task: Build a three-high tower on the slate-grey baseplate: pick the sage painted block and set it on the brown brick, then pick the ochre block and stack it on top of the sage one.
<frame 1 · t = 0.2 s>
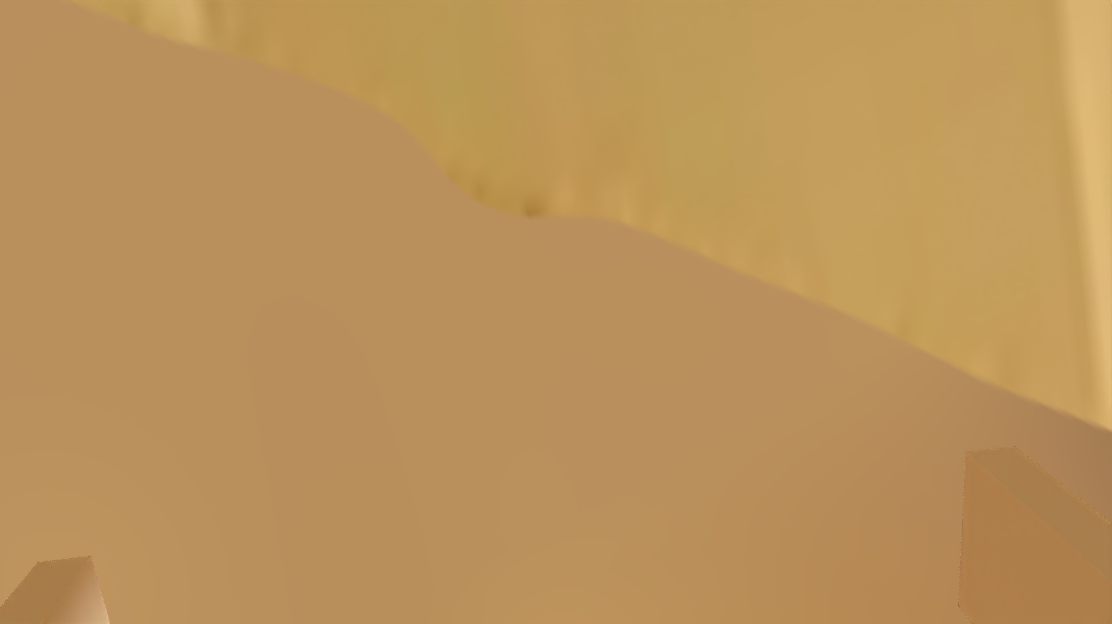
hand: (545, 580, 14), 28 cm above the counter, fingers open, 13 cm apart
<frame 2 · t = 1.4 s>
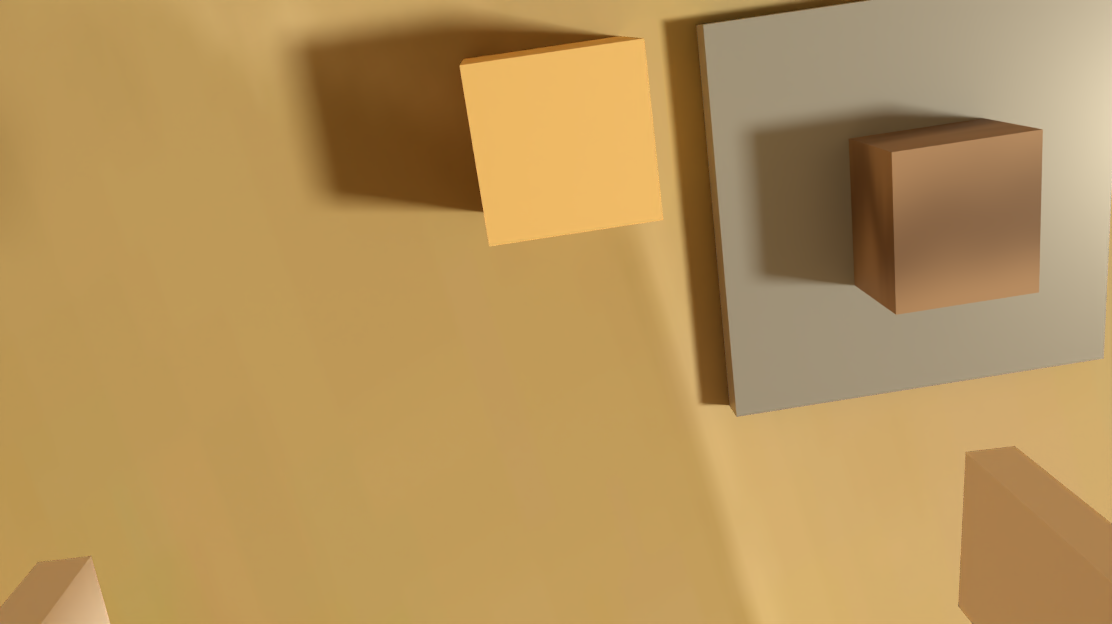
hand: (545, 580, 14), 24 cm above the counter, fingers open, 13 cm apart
baseplate: (904, 198, 38), on the counter
brown brick: (917, 203, 37), resting on baseplate
ochre brick: (552, 126, 36), on the counter
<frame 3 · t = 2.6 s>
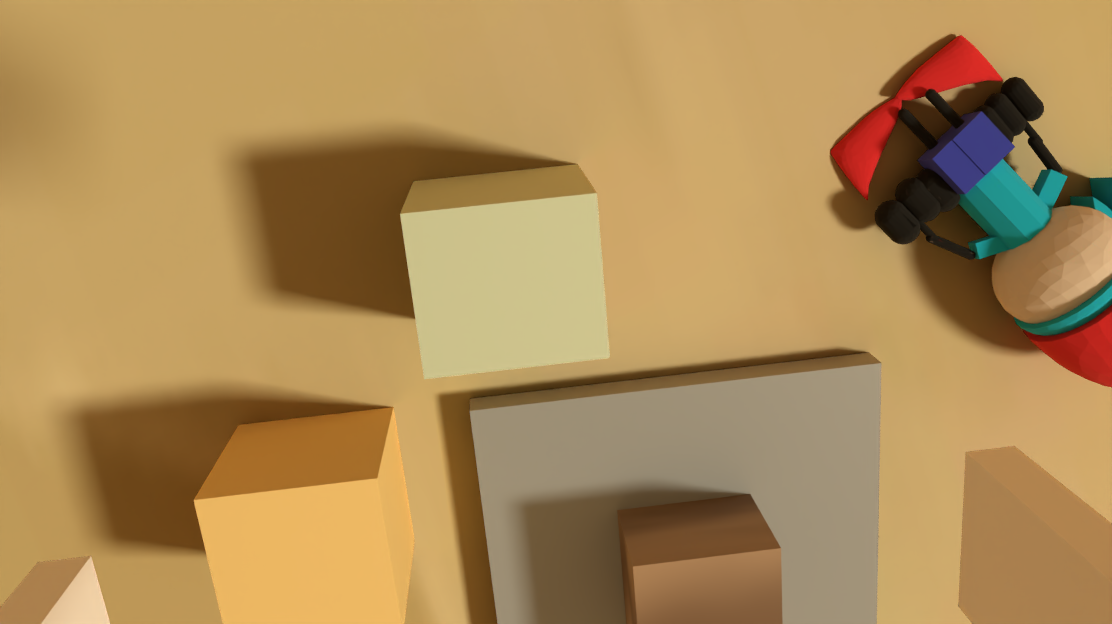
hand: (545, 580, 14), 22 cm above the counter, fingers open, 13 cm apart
baseplate: (681, 550, 39), on the counter
toy figure: (1002, 223, 36), on the counter
brown brick: (687, 566, 38), resting on baseplate
ochre brick: (329, 483, 37), on the counter
sage brick: (503, 243, 35), on the counter
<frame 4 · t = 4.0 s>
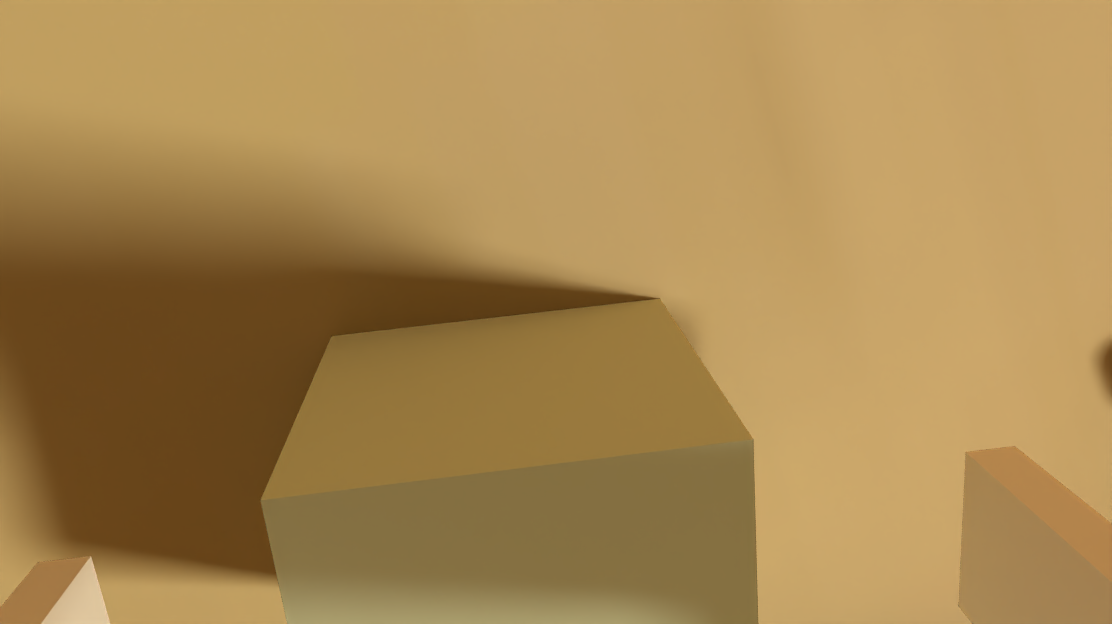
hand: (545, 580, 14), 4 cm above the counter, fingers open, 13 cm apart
sage brick: (512, 448, 18), on the counter
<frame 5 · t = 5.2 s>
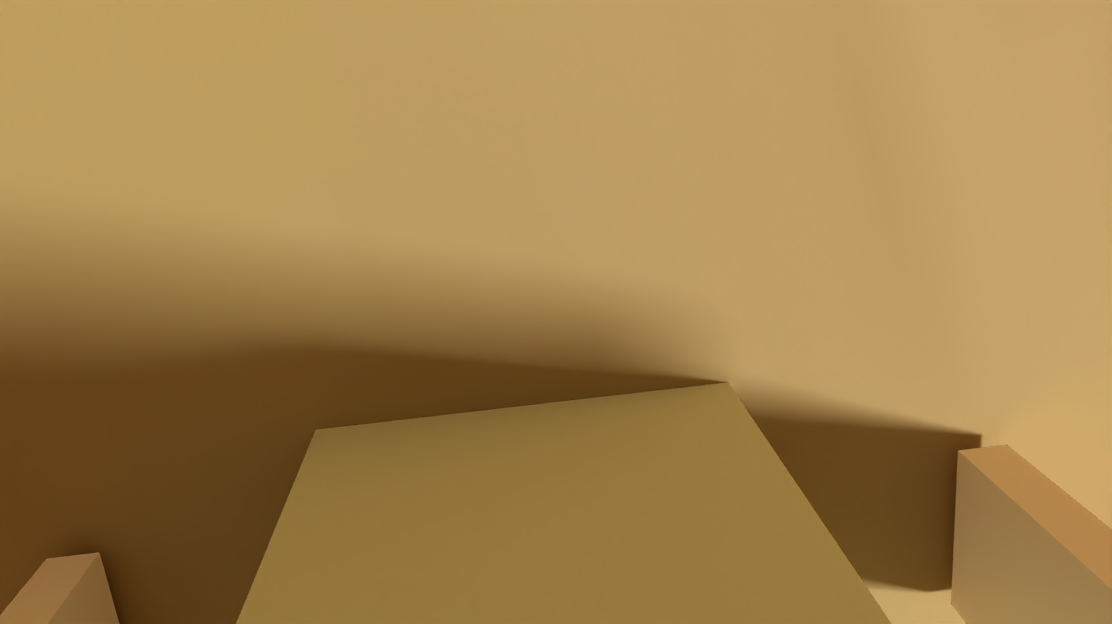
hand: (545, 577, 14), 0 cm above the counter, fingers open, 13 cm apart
sage brick: (541, 564, 14), on the counter
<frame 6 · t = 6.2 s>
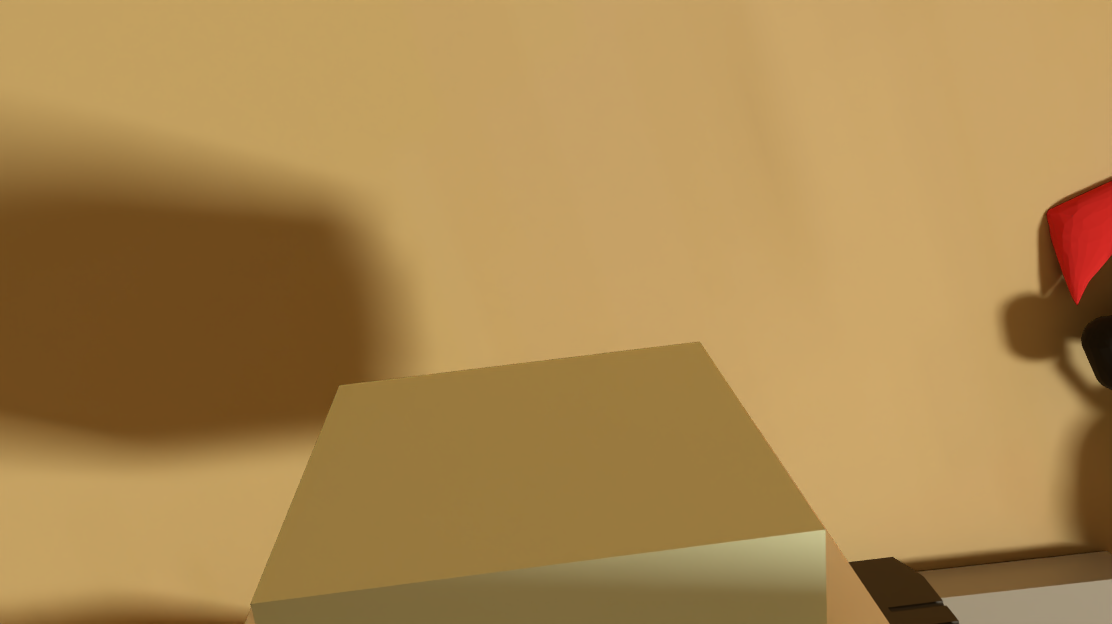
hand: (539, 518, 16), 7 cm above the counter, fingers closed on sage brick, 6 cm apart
sage brick: (538, 507, 16), point 6 cm above the counter, touching gripper
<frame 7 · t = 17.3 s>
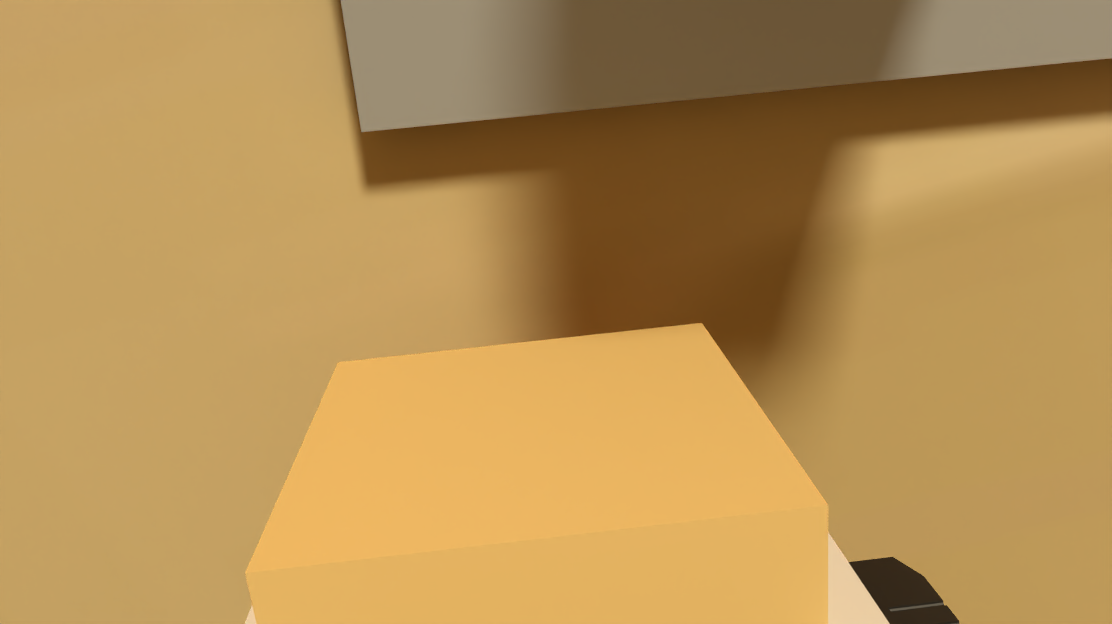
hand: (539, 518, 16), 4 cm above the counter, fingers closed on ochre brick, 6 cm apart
ochre brick: (538, 503, 16), point 4 cm above the counter, touching gripper
when the fingers open (11 cm above the counter, at t = 21.9 s): ochre brick stays where it is, resting on sage brick.
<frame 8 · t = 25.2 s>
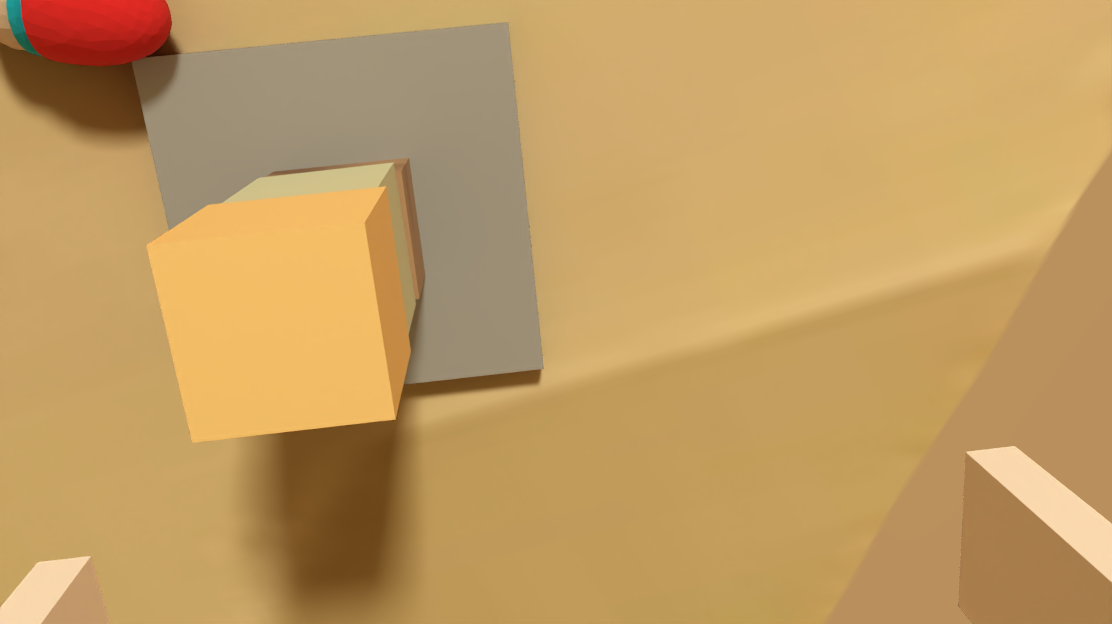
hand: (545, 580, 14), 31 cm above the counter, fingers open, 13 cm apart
baseplate: (354, 218, 43), on the counter
brown brick: (350, 224, 42), resting on baseplate
ochre brick: (312, 280, 32), point 11 cm above the counter, touching sage brick
sage brick: (339, 242, 38), point 5 cm above the counter, touching brown brick, ochre brick
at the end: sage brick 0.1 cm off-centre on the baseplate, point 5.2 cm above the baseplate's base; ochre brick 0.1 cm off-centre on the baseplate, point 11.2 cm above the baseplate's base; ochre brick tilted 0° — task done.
